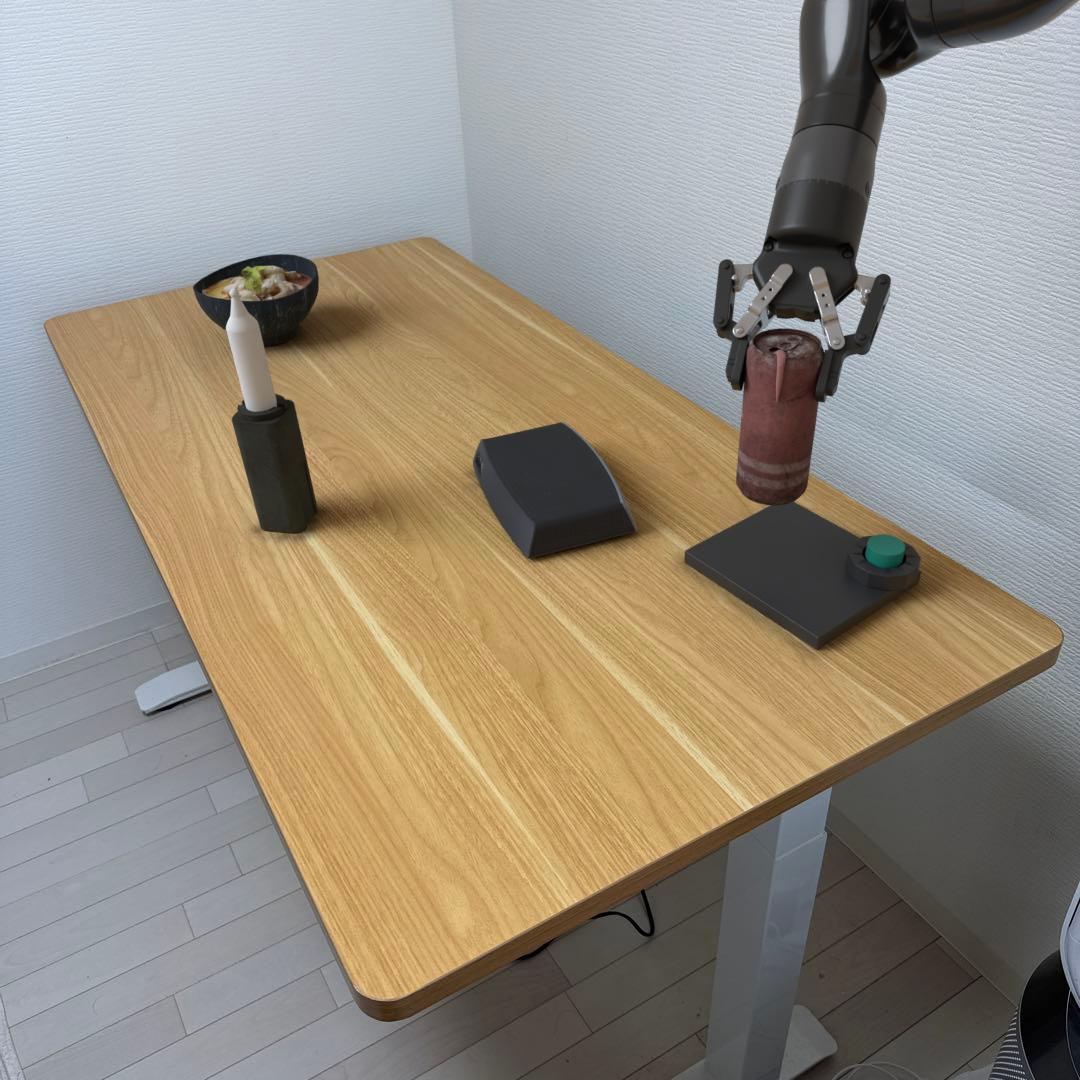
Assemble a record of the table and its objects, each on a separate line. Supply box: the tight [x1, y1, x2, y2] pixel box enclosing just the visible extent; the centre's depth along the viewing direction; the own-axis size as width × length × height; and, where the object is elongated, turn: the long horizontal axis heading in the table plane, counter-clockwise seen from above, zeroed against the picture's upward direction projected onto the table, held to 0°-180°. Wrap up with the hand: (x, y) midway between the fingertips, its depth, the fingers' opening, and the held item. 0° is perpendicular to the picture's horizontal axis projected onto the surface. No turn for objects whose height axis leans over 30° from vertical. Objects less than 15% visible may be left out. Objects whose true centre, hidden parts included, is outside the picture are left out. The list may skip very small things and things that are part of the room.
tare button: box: [865, 533, 905, 569], centre depth 86 cm, size 3×3×2 cm
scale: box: [683, 501, 923, 651], centre depth 88 cm, size 16×14×3 cm
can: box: [735, 327, 825, 506], centre depth 81 cm, size 6×6×14 cm
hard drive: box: [472, 421, 639, 559], centre depth 100 cm, size 13×19×4 cm
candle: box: [225, 289, 319, 534], centre depth 93 cm, size 5×5×25 cm
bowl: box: [192, 253, 320, 348], centre depth 137 cm, size 17×17×10 cm
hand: (777, 392), depth 77 cm, fingers closed on can, 6 cm apart
